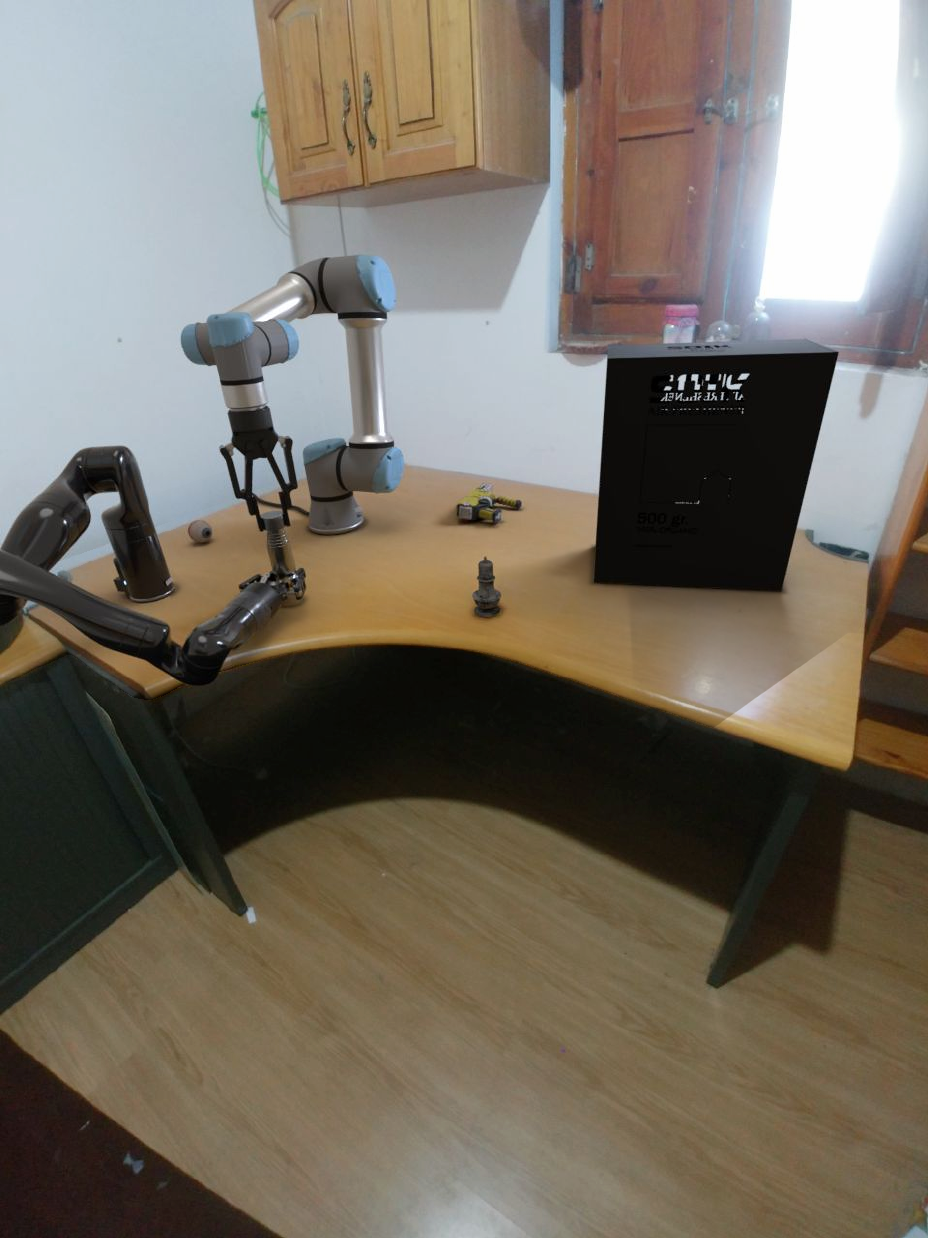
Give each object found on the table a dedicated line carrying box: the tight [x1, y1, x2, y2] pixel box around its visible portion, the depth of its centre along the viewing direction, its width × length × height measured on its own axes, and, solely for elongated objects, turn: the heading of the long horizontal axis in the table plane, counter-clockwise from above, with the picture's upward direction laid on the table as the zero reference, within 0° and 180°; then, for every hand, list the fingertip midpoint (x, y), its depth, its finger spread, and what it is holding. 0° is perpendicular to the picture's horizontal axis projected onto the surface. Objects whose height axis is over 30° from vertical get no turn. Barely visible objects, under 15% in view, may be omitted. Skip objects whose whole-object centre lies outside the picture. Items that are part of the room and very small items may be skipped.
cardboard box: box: [593, 338, 840, 592], centre depth 124 cm, size 38×20×45 cm, turn 78°
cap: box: [260, 510, 287, 532], centre depth 121 cm, size 5×5×3 cm
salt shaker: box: [471, 555, 502, 618], centre depth 119 cm, size 6×6×12 cm
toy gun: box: [455, 482, 523, 525], centre depth 172 cm, size 5×24×15 cm
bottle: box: [265, 527, 303, 608], centre depth 126 cm, size 5×5×19 cm
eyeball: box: [187, 519, 213, 544], centre depth 162 cm, size 6×6×6 cm
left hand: (291, 571), depth 130 cm, fingers closed on bottle, 4 cm apart
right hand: (274, 526), depth 122 cm, fingers closed on cap, 5 cm apart
